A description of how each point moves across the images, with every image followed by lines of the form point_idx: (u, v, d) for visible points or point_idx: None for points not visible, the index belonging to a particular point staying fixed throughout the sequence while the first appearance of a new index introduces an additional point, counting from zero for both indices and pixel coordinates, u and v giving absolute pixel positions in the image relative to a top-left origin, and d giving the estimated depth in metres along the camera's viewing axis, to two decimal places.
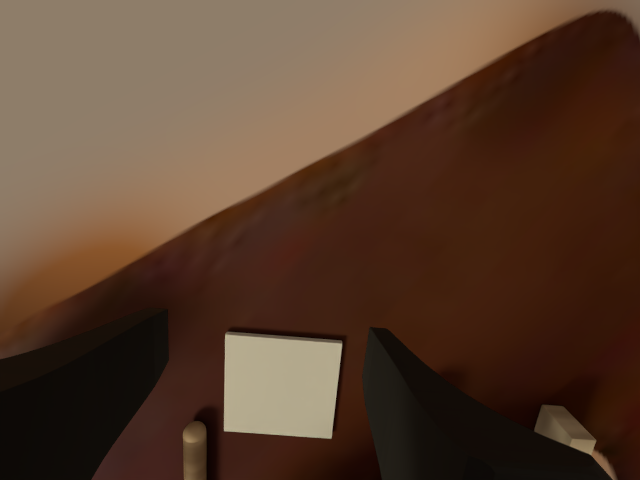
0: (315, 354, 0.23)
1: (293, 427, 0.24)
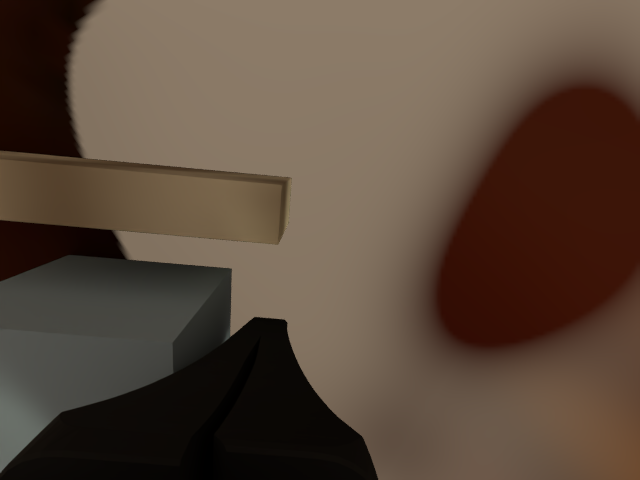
0: None
1: None
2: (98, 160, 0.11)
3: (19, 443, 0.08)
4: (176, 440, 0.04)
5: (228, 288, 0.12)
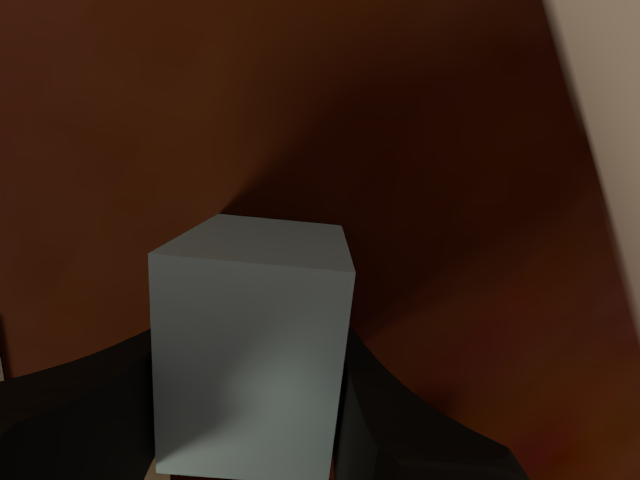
0: None
1: None
2: None
3: (209, 347, 0.08)
4: None
5: None
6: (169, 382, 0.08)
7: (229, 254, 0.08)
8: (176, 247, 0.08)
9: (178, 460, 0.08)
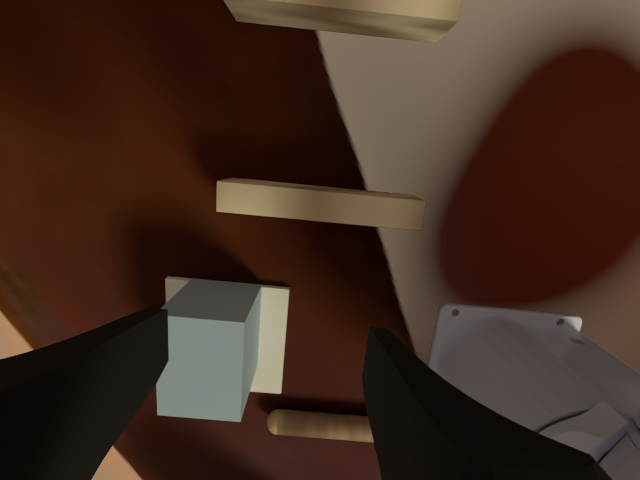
0: None
1: (274, 328, 0.22)
2: None
3: (181, 355, 0.17)
4: None
5: None
6: (163, 371, 0.17)
7: (190, 313, 0.17)
8: None
9: (168, 408, 0.18)
